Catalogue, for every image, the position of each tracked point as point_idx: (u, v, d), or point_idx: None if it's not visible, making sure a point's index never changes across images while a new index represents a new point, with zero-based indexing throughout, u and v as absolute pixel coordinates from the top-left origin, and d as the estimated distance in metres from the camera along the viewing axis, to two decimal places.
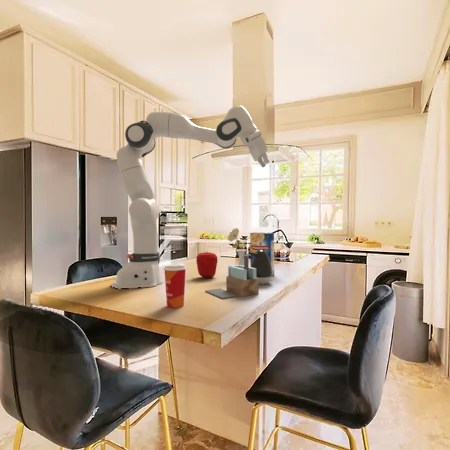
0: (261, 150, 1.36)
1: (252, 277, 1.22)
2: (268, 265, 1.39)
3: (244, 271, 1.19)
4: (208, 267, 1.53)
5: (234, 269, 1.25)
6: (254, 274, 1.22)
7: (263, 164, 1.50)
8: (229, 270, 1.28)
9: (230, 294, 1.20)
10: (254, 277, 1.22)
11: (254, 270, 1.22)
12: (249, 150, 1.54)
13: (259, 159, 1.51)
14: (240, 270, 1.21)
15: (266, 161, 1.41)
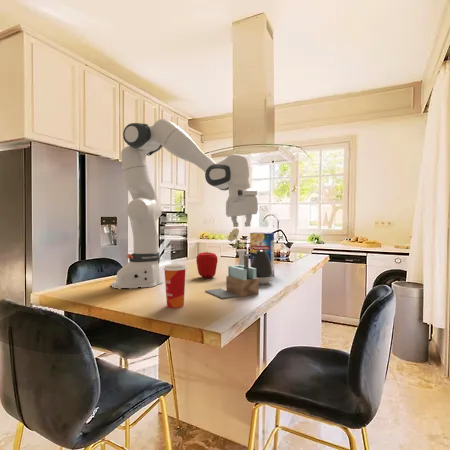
0: (251, 211, 1.21)
1: (252, 277, 1.22)
2: (268, 265, 1.39)
3: (244, 271, 1.19)
4: (208, 267, 1.53)
5: (234, 269, 1.25)
6: (254, 274, 1.22)
7: (236, 224, 1.34)
8: (229, 270, 1.28)
9: (230, 294, 1.20)
10: (254, 277, 1.22)
11: (254, 270, 1.22)
12: (227, 202, 1.36)
13: (234, 217, 1.35)
14: (240, 270, 1.21)
15: (248, 224, 1.25)
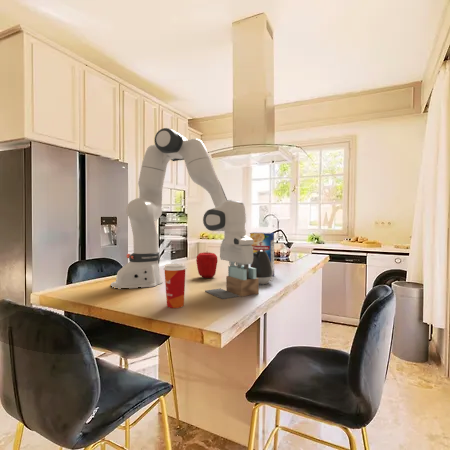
0: (247, 261, 1.20)
1: (252, 277, 1.22)
2: (268, 265, 1.39)
3: (244, 271, 1.19)
4: (208, 267, 1.53)
5: (234, 269, 1.25)
6: (254, 274, 1.22)
7: None
8: (229, 270, 1.28)
9: (230, 294, 1.20)
10: (254, 277, 1.22)
11: (254, 270, 1.22)
12: (221, 246, 1.35)
13: (232, 262, 1.31)
14: (240, 270, 1.21)
15: None
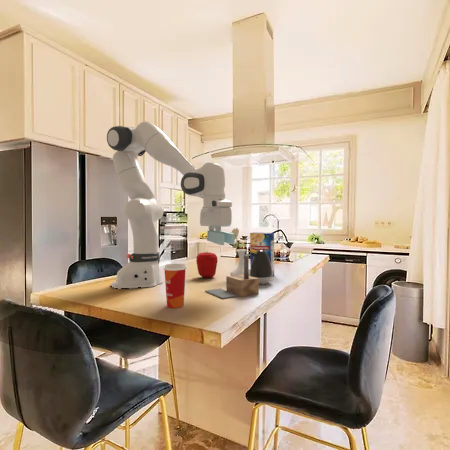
0: (225, 223, 1.17)
1: (230, 242, 1.19)
2: (268, 265, 1.39)
3: (222, 236, 1.16)
4: (208, 267, 1.53)
5: (213, 234, 1.22)
6: (232, 239, 1.19)
7: None
8: (208, 235, 1.25)
9: (230, 294, 1.20)
10: (232, 242, 1.19)
11: (232, 235, 1.19)
12: (201, 211, 1.32)
13: (211, 227, 1.28)
14: (218, 235, 1.18)
15: None
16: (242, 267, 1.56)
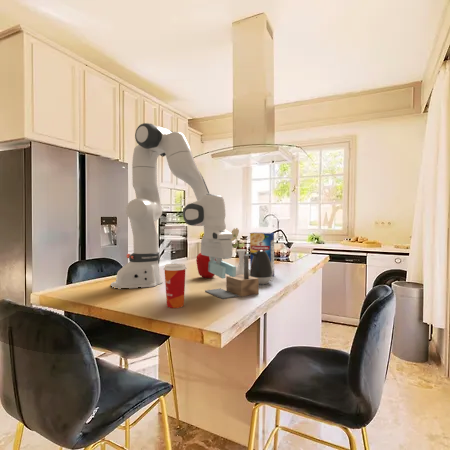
0: (226, 256, 1.18)
1: (231, 275, 1.20)
2: (268, 265, 1.39)
3: (223, 269, 1.17)
4: None
5: (214, 265, 1.22)
6: (233, 272, 1.19)
7: None
8: (209, 266, 1.25)
9: (230, 294, 1.20)
10: (233, 275, 1.19)
11: (234, 268, 1.19)
12: (202, 241, 1.32)
13: (212, 257, 1.28)
14: (219, 268, 1.18)
15: None
16: (242, 267, 1.56)
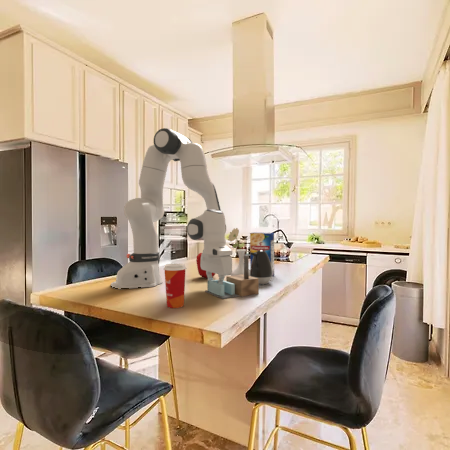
0: (225, 273, 1.18)
1: (230, 293, 1.20)
2: (268, 265, 1.39)
3: (222, 287, 1.17)
4: None
5: (212, 284, 1.23)
6: (232, 290, 1.20)
7: (211, 279, 1.30)
8: (208, 285, 1.26)
9: (230, 294, 1.20)
10: (232, 293, 1.20)
11: (232, 286, 1.20)
12: (202, 255, 1.33)
13: (209, 271, 1.31)
14: (218, 286, 1.19)
15: (220, 283, 1.23)
16: (242, 267, 1.56)
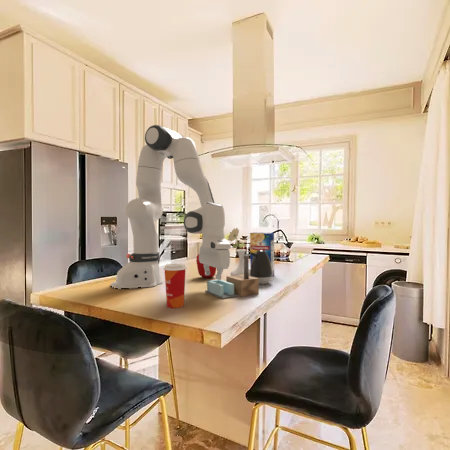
0: (223, 266, 1.17)
1: (230, 293, 1.20)
2: (268, 265, 1.39)
3: (221, 287, 1.17)
4: None
5: (212, 284, 1.22)
6: (232, 290, 1.19)
7: (208, 272, 1.30)
8: (207, 285, 1.26)
9: None
10: (232, 293, 1.19)
11: (232, 286, 1.19)
12: (200, 249, 1.32)
13: (206, 265, 1.31)
14: (217, 286, 1.19)
15: (218, 277, 1.22)
16: (242, 267, 1.56)
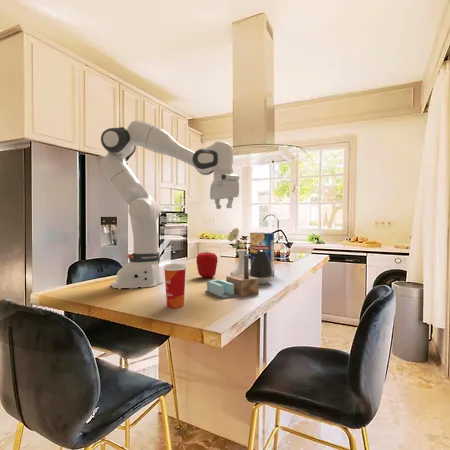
0: (233, 194, 1.34)
1: (230, 293, 1.20)
2: (268, 265, 1.39)
3: (221, 287, 1.17)
4: (208, 267, 1.53)
5: (212, 284, 1.22)
6: (232, 290, 1.19)
7: (219, 206, 1.46)
8: (207, 285, 1.26)
9: None
10: (232, 293, 1.19)
11: (232, 286, 1.19)
12: (211, 186, 1.48)
13: (217, 200, 1.47)
14: (217, 286, 1.19)
15: (229, 206, 1.38)
16: (242, 267, 1.56)
